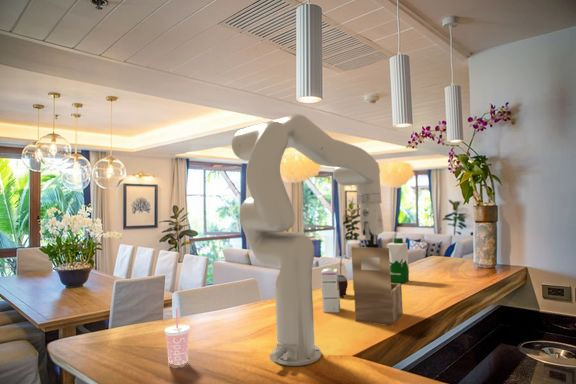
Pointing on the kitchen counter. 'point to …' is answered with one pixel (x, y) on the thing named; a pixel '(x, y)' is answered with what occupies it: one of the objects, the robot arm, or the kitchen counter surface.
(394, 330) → the kitchen counter surface
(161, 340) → the kitchen counter surface
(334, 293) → the syrup box
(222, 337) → the kitchen counter surface
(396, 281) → the milk carton
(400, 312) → the carton
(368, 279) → the carton flap
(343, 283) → the mate gourd
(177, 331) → the beverage cup
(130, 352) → the kitchen counter surface
